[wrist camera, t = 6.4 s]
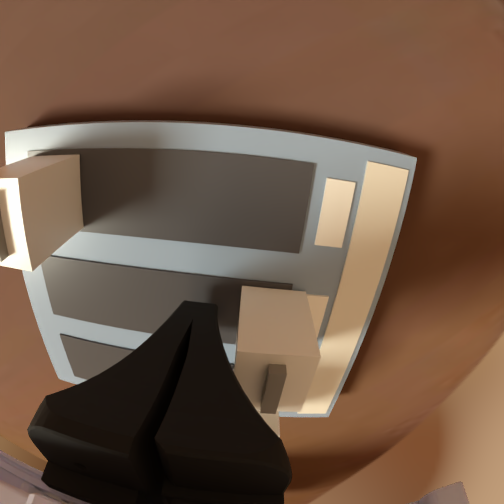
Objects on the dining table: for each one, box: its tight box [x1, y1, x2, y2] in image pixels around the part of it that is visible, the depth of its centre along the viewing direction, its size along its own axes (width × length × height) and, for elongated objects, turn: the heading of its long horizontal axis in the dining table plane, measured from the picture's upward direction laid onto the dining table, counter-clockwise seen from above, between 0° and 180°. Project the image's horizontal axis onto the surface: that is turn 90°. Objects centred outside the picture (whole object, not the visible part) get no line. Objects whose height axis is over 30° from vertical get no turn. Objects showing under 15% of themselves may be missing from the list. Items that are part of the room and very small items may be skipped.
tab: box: [0, 155, 84, 272], centre depth 8 cm, size 3×2×4 cm
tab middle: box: [234, 286, 321, 414], centre depth 10 cm, size 3×2×4 cm
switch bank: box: [5, 120, 417, 417], centre depth 13 cm, size 14×16×2 cm
